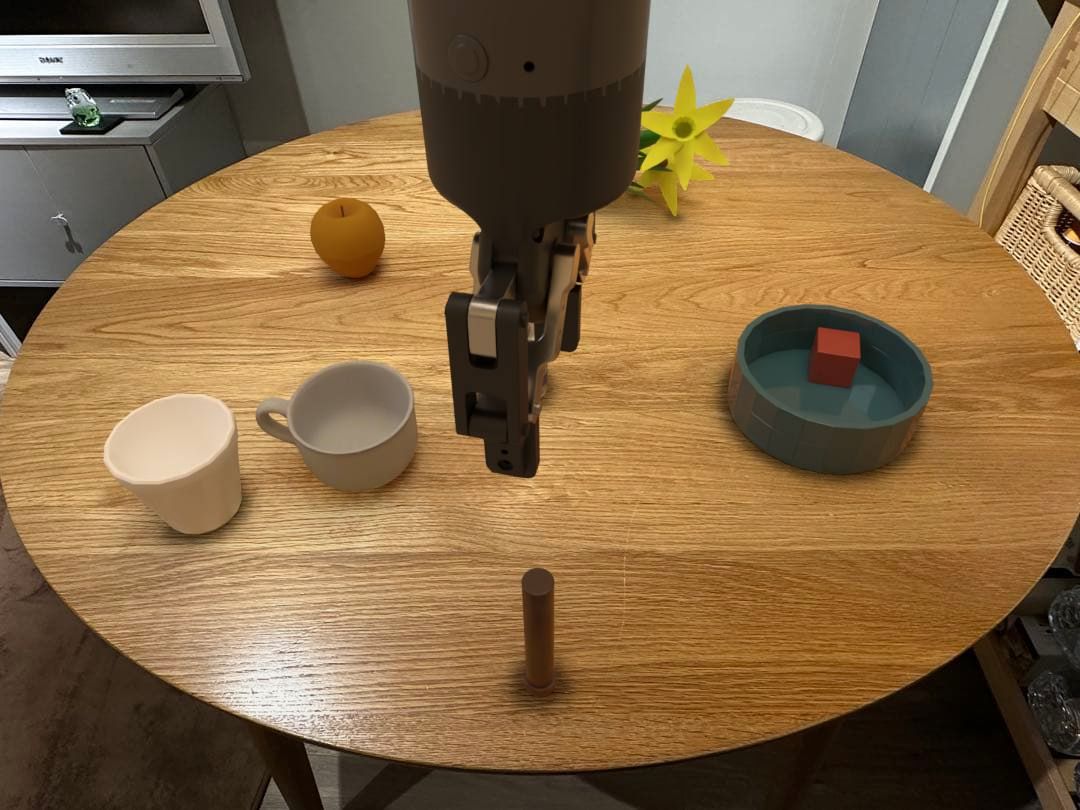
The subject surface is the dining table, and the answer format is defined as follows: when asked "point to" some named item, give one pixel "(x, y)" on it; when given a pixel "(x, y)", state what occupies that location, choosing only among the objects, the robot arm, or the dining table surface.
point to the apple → (348, 236)
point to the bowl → (827, 391)
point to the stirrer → (539, 631)
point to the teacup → (348, 424)
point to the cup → (180, 460)
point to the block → (834, 357)
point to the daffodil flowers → (677, 142)
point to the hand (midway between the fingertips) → (537, 402)
